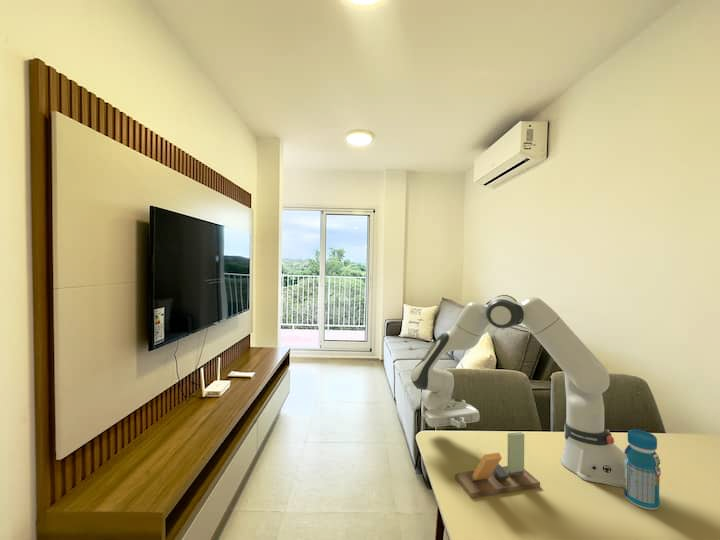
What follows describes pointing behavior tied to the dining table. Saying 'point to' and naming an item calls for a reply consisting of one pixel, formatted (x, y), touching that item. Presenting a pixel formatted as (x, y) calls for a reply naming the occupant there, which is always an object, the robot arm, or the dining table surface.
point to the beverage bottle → (642, 470)
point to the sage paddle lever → (515, 453)
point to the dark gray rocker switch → (500, 473)
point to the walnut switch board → (495, 483)
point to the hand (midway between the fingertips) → (462, 425)
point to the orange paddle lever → (486, 466)
